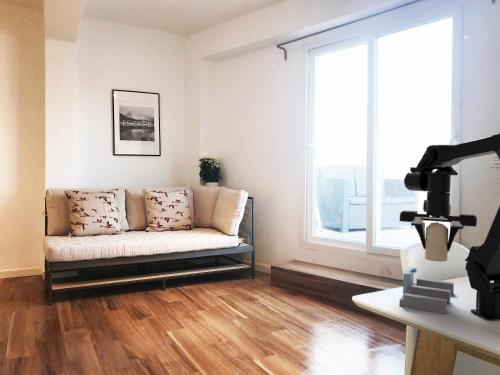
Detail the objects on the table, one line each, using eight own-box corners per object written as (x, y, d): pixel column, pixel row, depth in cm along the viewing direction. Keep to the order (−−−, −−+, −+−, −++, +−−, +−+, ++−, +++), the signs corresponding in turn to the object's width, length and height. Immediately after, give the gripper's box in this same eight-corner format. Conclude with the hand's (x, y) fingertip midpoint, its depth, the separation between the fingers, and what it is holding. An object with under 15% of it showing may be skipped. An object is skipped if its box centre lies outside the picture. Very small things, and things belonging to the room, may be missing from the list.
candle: (450, 262, 113) (452, 224, 113) (429, 261, 113) (431, 223, 113) (441, 258, 118) (443, 221, 118) (421, 257, 118) (423, 221, 118)
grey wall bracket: (445, 314, 100) (446, 288, 100) (394, 305, 106) (395, 281, 106) (453, 293, 119) (454, 271, 119) (410, 287, 125) (410, 266, 125)
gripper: (478, 193, 118) (476, 249, 118) (407, 190, 127) (405, 243, 127) (477, 194, 108) (475, 255, 108) (400, 191, 117) (398, 248, 117)
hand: (436, 250), depth 116 cm, fingers closed on candle, 5 cm apart
